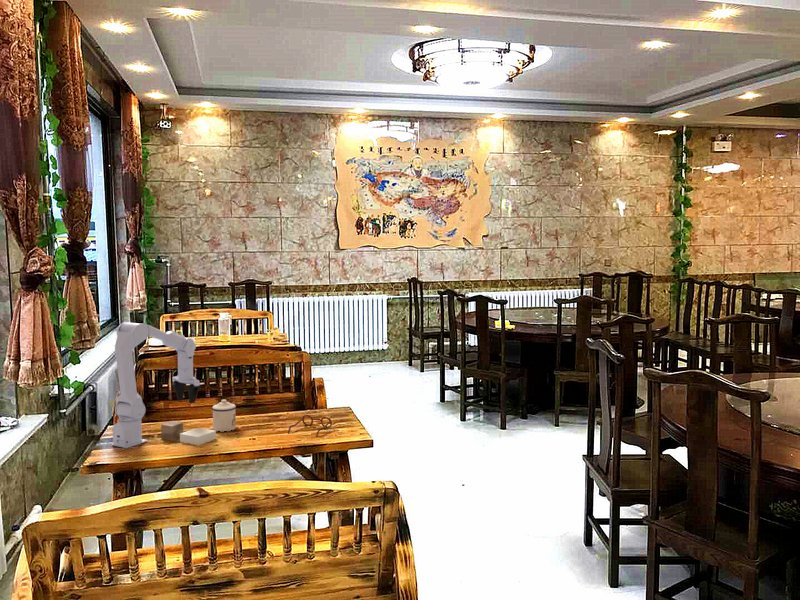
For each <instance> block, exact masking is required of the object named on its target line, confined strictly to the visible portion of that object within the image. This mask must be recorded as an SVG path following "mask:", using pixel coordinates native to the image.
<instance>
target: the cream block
mask: <svg viewBox="0 0 800 600" xmlns="http://www.w3.org/2000/svg"><path fill="white" fill-rule="evenodd" d="M214 439H215V440H216V439H217V431H215V430H213V429H209V428H208V429H207V428H203V427H202V428H201V427H196V428H192V429H189V430H187V431H183V433H180V438H179V442H180V443H183V442H184V443H183V444H188V443H190V444H189V445H193V444H194V446H202V445H203V443H204V444H207V443H210V442H212V441H214ZM211 440H212V441H211ZM206 442H207V443H206Z"/></svg>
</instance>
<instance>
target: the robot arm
mask: <svg viewBox="0 0 800 600" xmlns="http://www.w3.org/2000/svg"><path fill="white" fill-rule="evenodd" d="M147 338H153V339H157V340H158V341H161V343H162V345H164V346H166V347H169V348H171V349H174V350H175V351H176V352H177V375H176V376H172V383H171V387H172V389H173V390H174V393H175V396H176V399H177V401H178V402H179V401H183V400H184V391H185V388H186V391H187V394H188V401H189V404H195V403H196V399H197V395H198V393H199V391H200V388H201V385H200V380H199V379H197V378H196V377H195V376H194V356H195V350H196V348H197V344H196V343H195V341H194V339H192V338H190V337H185V335H184V334H179V333H177V332H176V331H175V330H169V331H168V330H167V331H166V332H165V331H164V330H161V329H158V328H157V327H154V326H152V325H150V324H146V323H137V322H128V321H124V322H122V323H120V325H119V326H118V327H117V328H116V341H115V345H114V351H115V360H116V361H115V362H116V367H117V376H118V384H119V391H120V394H119V395H118V396H117V397H116V399H115V400H116V401H115V402H116V403H115V408H114V412H115V414H116V415H117V416H118V419H119V421H118V422H116V423H114V424H113V426H112V443H111V446H114V447H119V448H123V449H129V448H131V447H135V446H137V445H141V444H143V443H147V442H148V440H147V439H144V438H143V437H142V435H143V432H142V419H143V417H144V416H145V414H146V406H145V403H144V402H143V398H142V396H141V395H140V394H139V393H138V391H137V389H138V388H137V381H136V372H135V365H134V364H135V363H134V355H133V350H134V348H136V347H137V346H138V345H140V344H141V343H143V342H144V341H145V340H146V339H147Z"/></svg>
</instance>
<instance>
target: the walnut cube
mask: <svg viewBox="0 0 800 600" xmlns="http://www.w3.org/2000/svg"><path fill="white" fill-rule="evenodd" d="M160 427H161V428H160V429H161V430H160V431H161V433H160V434H161V436H160V437H161V440H166V441H172V440H173V441H175V439H176V440H178V438H179V439H180V433H183V432H184V422H181V421H176V420H171V421H170V420H169V421H168V422H163V423H162V424H161V425H160Z"/></svg>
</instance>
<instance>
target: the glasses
mask: <svg viewBox="0 0 800 600" xmlns="http://www.w3.org/2000/svg"><path fill="white" fill-rule="evenodd" d="M306 417H307V418H309V419H310V420H311V423H310V424H308V423H307V422H305V418H306ZM324 419H327V420H328V422H327V423H326V424H324V422H323V421H324ZM314 421H320V424H321V425H322V428H319V429H317V432H316V434H315V438H317V437H318V436H319V432H321V431H323V430H325V427H326V429H330V428H331V427H332V426H333V423H332V419H331V417H330V418H329V417H328V416H323V417H322V418H315V417H314V418H313V417H312V416H311V415H309V414H305V415H303V416H302V418H300V419H299V420H298V421H297V422H296V423H295V424H292V425H290V426H289V428H288V430H287V433H288V434H290V431H291V429H292V427H296V426H297V425H298V424H300V423H303V425H304V426H309V427H311V426H312V425H313V424H314Z"/></svg>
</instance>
